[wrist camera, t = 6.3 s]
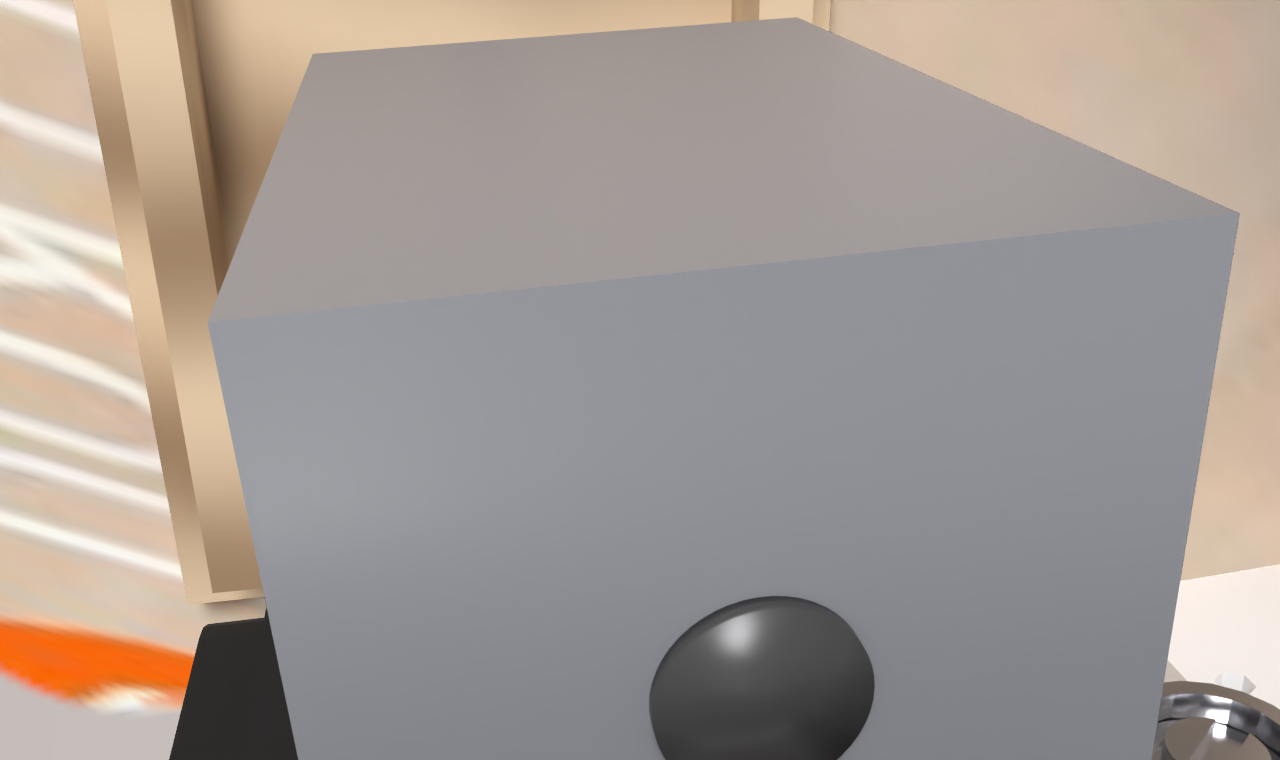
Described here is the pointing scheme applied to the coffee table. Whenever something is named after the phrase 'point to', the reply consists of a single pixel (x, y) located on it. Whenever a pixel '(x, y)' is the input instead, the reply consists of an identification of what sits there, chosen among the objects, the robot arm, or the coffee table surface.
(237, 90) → the wooden tray
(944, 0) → the coffee table surface
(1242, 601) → the white wedge bracket
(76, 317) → the coffee table surface
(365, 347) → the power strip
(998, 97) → the coffee table surface
